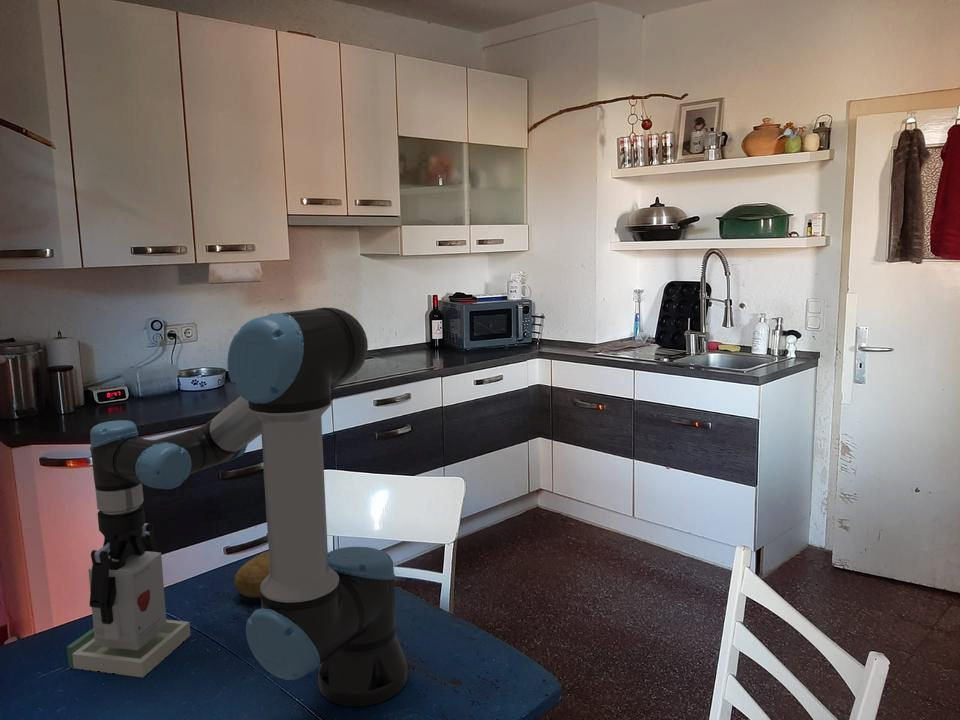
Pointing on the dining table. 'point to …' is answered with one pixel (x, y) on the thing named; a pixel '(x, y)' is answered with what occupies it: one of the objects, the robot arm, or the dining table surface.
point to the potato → (253, 575)
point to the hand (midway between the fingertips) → (131, 623)
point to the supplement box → (135, 602)
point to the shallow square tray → (127, 652)
